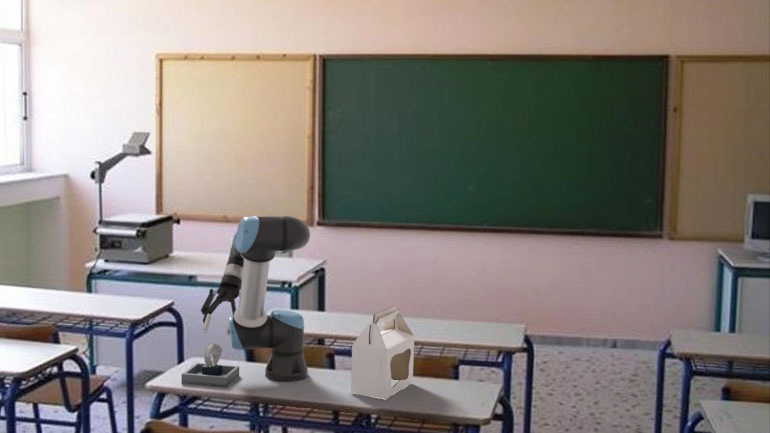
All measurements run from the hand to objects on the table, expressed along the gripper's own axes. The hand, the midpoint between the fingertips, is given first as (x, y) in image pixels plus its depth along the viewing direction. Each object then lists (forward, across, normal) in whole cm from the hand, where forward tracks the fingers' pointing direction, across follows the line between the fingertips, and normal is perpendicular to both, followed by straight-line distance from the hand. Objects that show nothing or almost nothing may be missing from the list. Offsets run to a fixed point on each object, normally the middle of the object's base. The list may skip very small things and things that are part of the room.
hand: (215, 332), depth 334 cm
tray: (+16, -1, -6) cm, 17 cm away
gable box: (+10, -61, -9) cm, 63 cm away
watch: (+13, 0, -7) cm, 15 cm away
